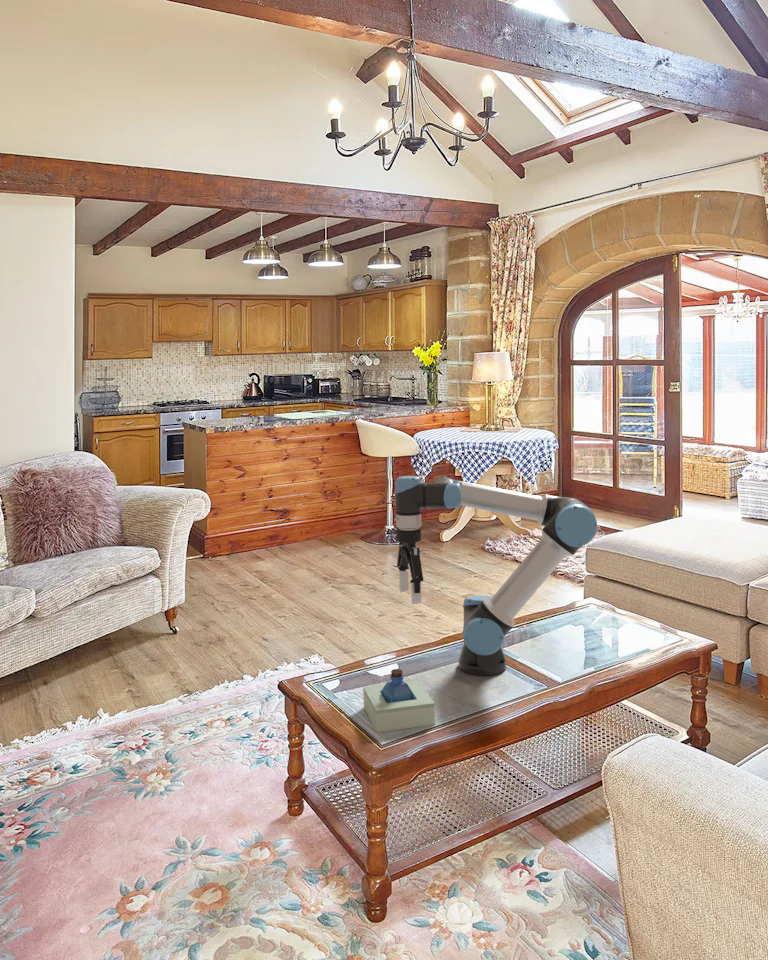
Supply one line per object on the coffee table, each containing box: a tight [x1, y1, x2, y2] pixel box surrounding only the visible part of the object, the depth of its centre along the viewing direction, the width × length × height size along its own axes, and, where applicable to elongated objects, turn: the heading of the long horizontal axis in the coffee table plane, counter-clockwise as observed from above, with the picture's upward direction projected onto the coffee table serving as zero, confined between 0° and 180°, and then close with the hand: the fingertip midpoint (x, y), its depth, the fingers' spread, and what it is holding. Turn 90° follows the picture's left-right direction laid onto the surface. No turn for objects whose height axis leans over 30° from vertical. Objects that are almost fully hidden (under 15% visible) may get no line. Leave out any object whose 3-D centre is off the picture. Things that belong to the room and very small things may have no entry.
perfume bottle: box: [382, 668, 413, 703], centre depth 206 cm, size 6×6×12 cm
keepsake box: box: [362, 680, 436, 733], centre depth 207 cm, size 16×16×6 cm
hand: (410, 597), depth 227 cm, fingers open, 13 cm apart
